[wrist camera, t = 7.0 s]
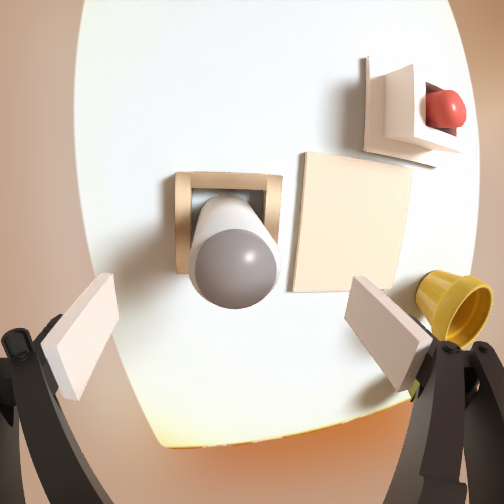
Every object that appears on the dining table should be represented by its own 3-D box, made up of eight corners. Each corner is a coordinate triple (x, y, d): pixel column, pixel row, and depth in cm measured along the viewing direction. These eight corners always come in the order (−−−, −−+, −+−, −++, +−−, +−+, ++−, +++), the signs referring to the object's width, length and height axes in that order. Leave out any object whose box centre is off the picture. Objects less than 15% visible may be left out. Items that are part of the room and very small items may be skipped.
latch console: (365, 57, 26) (396, 41, 19) (438, 85, 27) (472, 79, 20) (363, 151, 29) (397, 152, 23) (436, 167, 31) (472, 173, 24)
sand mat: (305, 151, 29) (307, 151, 28) (409, 168, 31) (412, 168, 30) (292, 289, 34) (293, 292, 33) (388, 286, 36) (391, 288, 35)
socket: (178, 171, 28) (175, 172, 26) (278, 174, 29) (282, 176, 28) (178, 266, 32) (176, 273, 30) (271, 267, 33) (274, 274, 31)
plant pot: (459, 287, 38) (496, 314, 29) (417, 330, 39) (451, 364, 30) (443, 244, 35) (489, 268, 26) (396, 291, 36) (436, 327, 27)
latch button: (412, 90, 24) (440, 84, 19) (437, 100, 24) (465, 96, 19) (412, 123, 25) (441, 121, 20) (437, 131, 25) (466, 132, 21)
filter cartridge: (198, 193, 29) (184, 224, 16) (255, 194, 30) (288, 225, 17) (199, 248, 31) (189, 316, 18) (253, 248, 32) (280, 313, 19)
